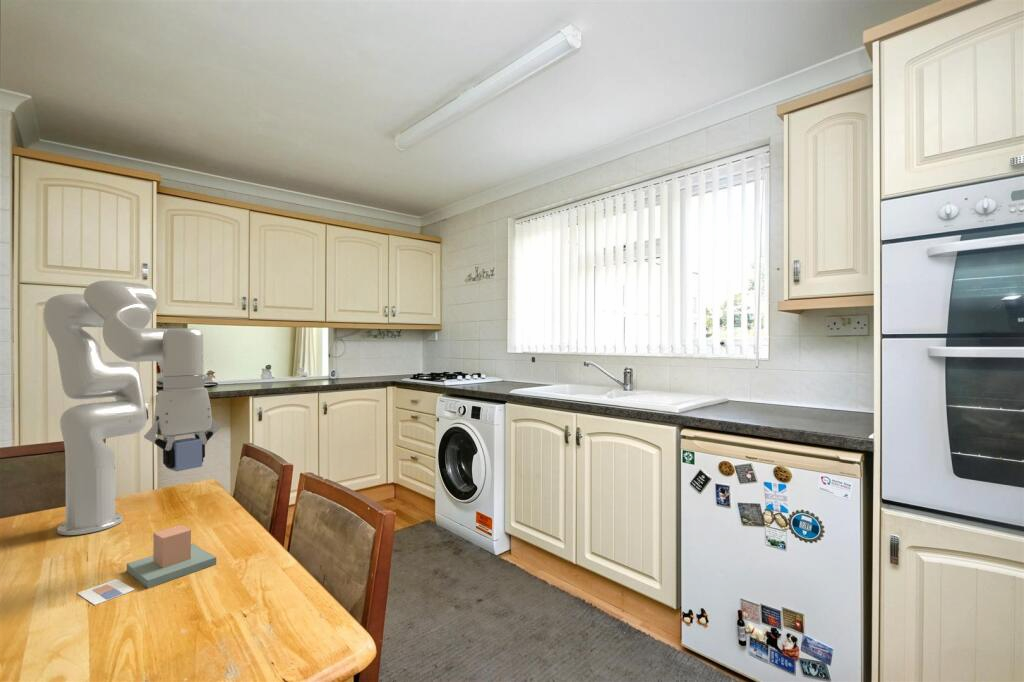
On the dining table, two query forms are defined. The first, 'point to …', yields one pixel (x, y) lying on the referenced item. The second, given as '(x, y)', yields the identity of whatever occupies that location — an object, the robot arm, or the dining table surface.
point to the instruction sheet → (105, 591)
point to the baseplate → (169, 567)
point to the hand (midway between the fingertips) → (184, 463)
